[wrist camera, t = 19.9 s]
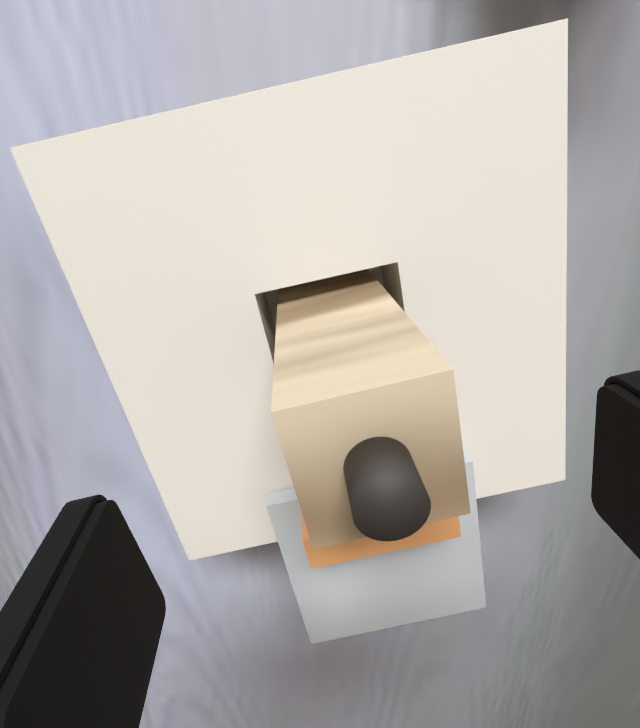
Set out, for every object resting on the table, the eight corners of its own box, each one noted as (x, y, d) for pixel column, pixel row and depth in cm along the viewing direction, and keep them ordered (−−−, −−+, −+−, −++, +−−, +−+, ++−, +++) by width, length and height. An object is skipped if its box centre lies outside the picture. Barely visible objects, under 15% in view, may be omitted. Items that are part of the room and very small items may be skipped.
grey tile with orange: (310, 629, 24) (313, 694, 21) (267, 493, 20) (263, 548, 17) (480, 593, 24) (507, 653, 21) (465, 450, 20) (497, 498, 17)
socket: (211, 471, 28) (189, 560, 22) (94, 155, 21) (9, 148, 15) (500, 408, 28) (565, 479, 21) (480, 66, 21) (568, 18, 14)
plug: (278, 285, 21) (268, 451, 8) (364, 264, 21) (481, 401, 8) (299, 363, 22) (317, 601, 10) (379, 344, 22) (496, 560, 10)
